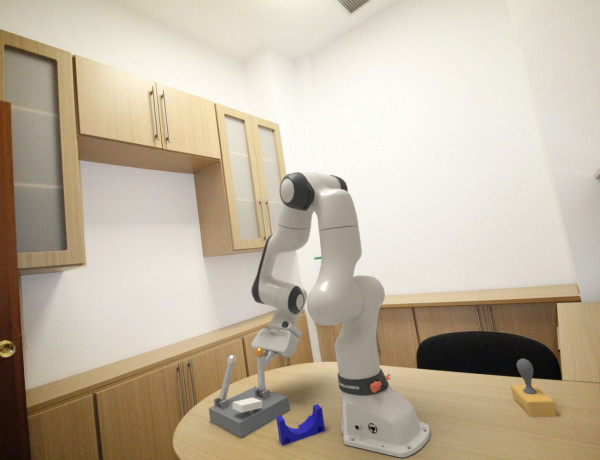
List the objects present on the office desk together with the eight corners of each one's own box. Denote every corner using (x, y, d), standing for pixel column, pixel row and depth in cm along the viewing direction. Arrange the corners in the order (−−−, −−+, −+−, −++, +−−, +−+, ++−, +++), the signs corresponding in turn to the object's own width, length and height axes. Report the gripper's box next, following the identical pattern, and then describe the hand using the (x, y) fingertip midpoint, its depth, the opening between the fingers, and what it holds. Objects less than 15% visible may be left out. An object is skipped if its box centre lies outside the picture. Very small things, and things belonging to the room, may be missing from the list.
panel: (289, 409, 99) (286, 389, 100) (241, 438, 87) (238, 414, 88) (256, 398, 112) (254, 380, 113) (210, 421, 100) (207, 401, 100)
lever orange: (269, 395, 103) (265, 347, 105) (261, 398, 101) (258, 349, 103) (263, 393, 105) (260, 346, 107) (256, 396, 103) (252, 348, 105)
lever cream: (227, 406, 100) (238, 356, 105) (219, 406, 98) (231, 354, 104) (222, 404, 102) (234, 355, 108) (214, 404, 100) (226, 353, 106)
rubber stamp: (513, 398, 86) (503, 353, 87) (536, 397, 85) (527, 352, 86) (530, 417, 77) (519, 366, 78) (557, 416, 75) (545, 364, 77)
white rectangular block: (262, 407, 93) (262, 400, 94) (241, 412, 89) (242, 405, 89) (252, 404, 97) (252, 397, 97) (232, 408, 92) (232, 401, 93)
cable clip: (319, 424, 89) (315, 402, 89) (325, 431, 84) (321, 408, 85) (278, 438, 85) (274, 414, 85) (282, 446, 80) (279, 421, 81)
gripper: (258, 321, 119) (239, 356, 111) (294, 324, 104) (275, 364, 97) (269, 330, 122) (252, 364, 114) (305, 334, 107) (288, 374, 99)
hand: (263, 364), depth 105 cm, fingers closed, pressing on lever orange
